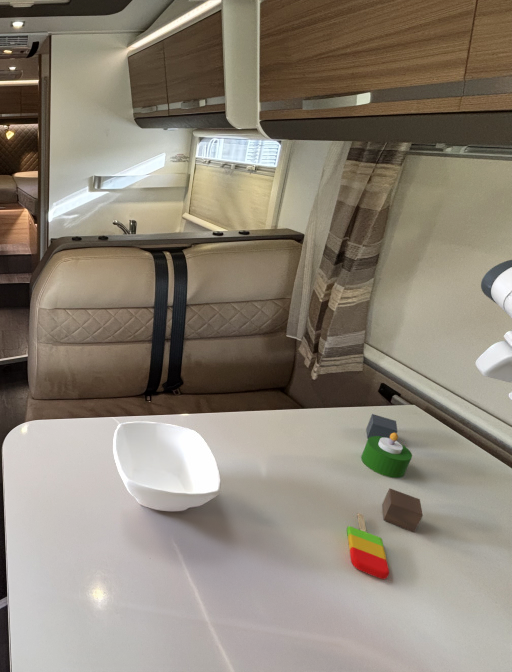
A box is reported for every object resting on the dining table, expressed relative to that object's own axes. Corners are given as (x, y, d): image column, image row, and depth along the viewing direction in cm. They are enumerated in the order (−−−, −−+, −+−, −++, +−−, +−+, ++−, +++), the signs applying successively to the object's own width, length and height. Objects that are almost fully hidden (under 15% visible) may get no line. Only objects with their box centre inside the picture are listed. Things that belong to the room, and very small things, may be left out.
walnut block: (411, 516, 93) (419, 499, 91) (414, 532, 89) (423, 515, 87) (382, 504, 95) (389, 488, 94) (383, 520, 92) (390, 503, 90)
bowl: (112, 526, 91) (117, 486, 87) (106, 452, 111) (110, 416, 107) (222, 542, 87) (233, 501, 83) (196, 463, 108) (203, 426, 103)
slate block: (389, 435, 116) (396, 420, 114) (391, 446, 112) (397, 431, 110) (366, 428, 119) (372, 413, 117) (367, 438, 115) (372, 423, 113)
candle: (370, 448, 111) (382, 417, 108) (410, 469, 105) (424, 437, 101) (354, 460, 108) (366, 428, 104) (395, 483, 101) (409, 450, 97)
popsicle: (351, 567, 82) (354, 561, 82) (343, 511, 94) (345, 505, 93) (388, 583, 80) (391, 576, 79) (374, 522, 91) (377, 516, 91)
